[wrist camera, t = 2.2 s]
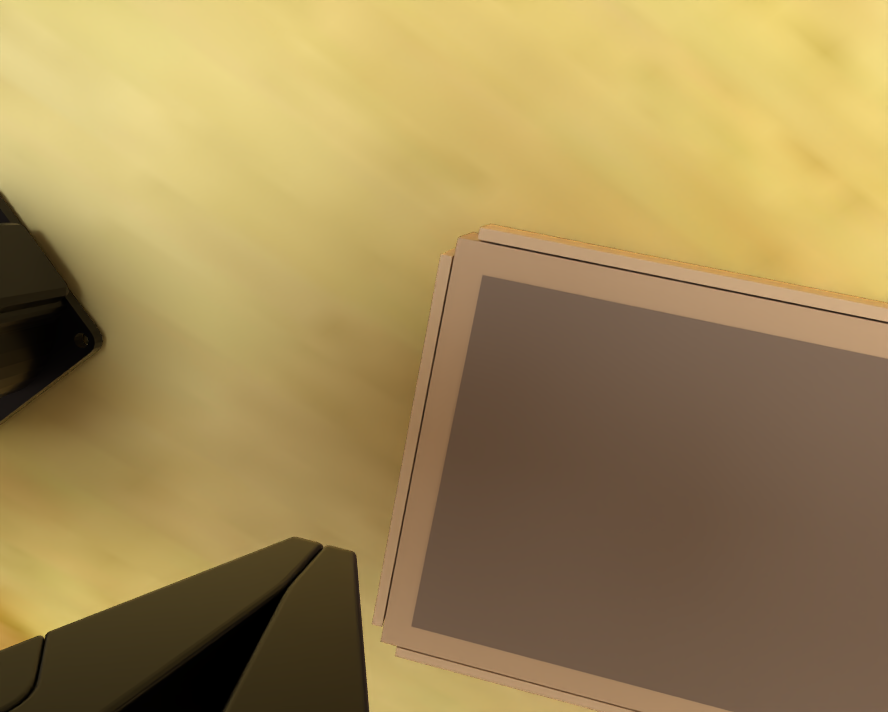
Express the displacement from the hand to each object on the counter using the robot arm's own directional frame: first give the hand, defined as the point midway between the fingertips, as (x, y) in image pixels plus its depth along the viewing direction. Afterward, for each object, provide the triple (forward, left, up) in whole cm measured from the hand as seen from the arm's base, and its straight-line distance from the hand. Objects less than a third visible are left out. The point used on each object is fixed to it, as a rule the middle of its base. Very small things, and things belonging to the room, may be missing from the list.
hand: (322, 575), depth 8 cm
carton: (+4, -7, -13) cm, 15 cm away
